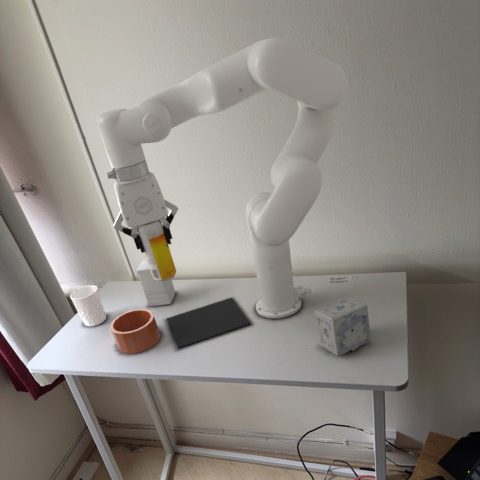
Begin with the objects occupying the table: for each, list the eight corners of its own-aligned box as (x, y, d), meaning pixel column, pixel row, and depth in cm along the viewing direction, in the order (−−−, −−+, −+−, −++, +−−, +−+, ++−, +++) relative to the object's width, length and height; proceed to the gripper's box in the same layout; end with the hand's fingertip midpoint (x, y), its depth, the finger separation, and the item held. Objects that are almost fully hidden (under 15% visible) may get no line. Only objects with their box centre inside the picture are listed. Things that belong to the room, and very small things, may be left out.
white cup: (84, 330, 124) (72, 302, 118) (80, 319, 130) (68, 291, 124) (110, 320, 126) (99, 292, 121) (105, 310, 132) (94, 282, 127)
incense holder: (348, 328, 103) (347, 291, 98) (372, 344, 97) (372, 306, 91) (315, 343, 101) (312, 306, 95) (337, 361, 94) (335, 322, 88)
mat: (231, 299, 125) (231, 297, 125) (250, 324, 112) (250, 323, 112) (166, 319, 121) (166, 318, 121) (178, 349, 108) (178, 347, 108)
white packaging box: (176, 292, 134) (165, 256, 128) (170, 304, 128) (159, 267, 122) (154, 294, 136) (143, 259, 129) (147, 306, 130) (135, 270, 123)
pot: (156, 323, 120) (150, 304, 117) (163, 344, 111) (156, 324, 107) (116, 336, 118) (108, 317, 115) (120, 359, 109) (112, 338, 105)
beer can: (181, 271, 108) (164, 215, 100) (168, 283, 103) (150, 226, 95) (162, 270, 110) (144, 216, 102) (149, 282, 106) (129, 226, 98)
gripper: (93, 186, 88) (122, 263, 98) (172, 164, 91) (193, 240, 101) (92, 179, 94) (119, 252, 104) (165, 159, 97) (186, 231, 107)
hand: (155, 246), depth 102 cm, fingers closed on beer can, 6 cm apart
